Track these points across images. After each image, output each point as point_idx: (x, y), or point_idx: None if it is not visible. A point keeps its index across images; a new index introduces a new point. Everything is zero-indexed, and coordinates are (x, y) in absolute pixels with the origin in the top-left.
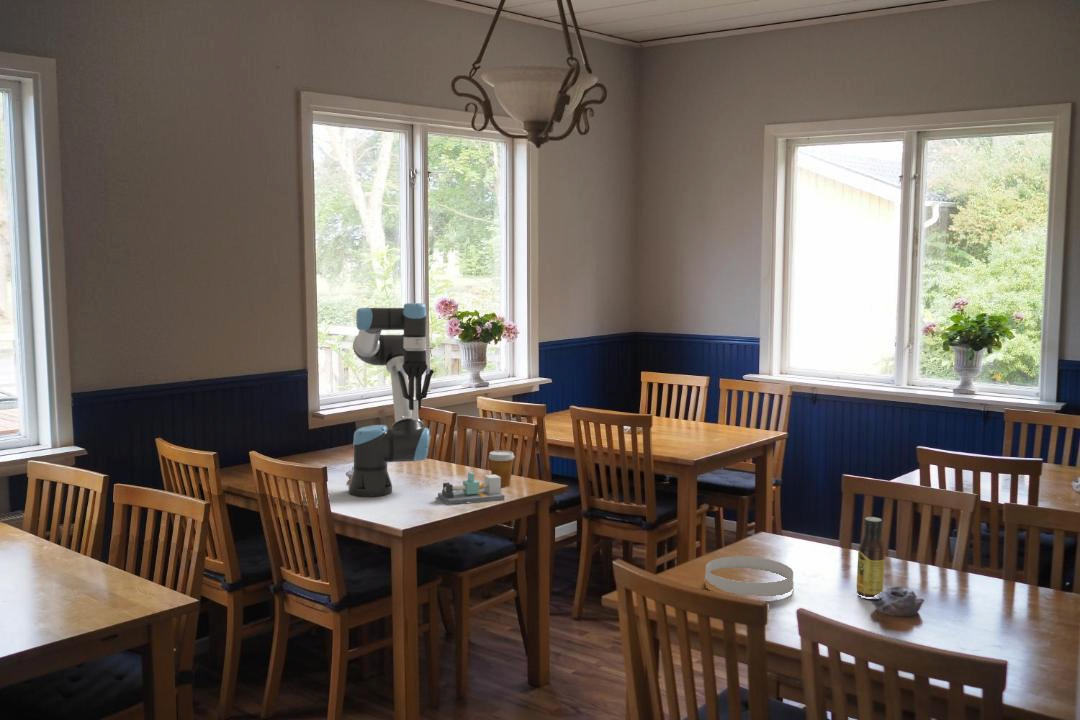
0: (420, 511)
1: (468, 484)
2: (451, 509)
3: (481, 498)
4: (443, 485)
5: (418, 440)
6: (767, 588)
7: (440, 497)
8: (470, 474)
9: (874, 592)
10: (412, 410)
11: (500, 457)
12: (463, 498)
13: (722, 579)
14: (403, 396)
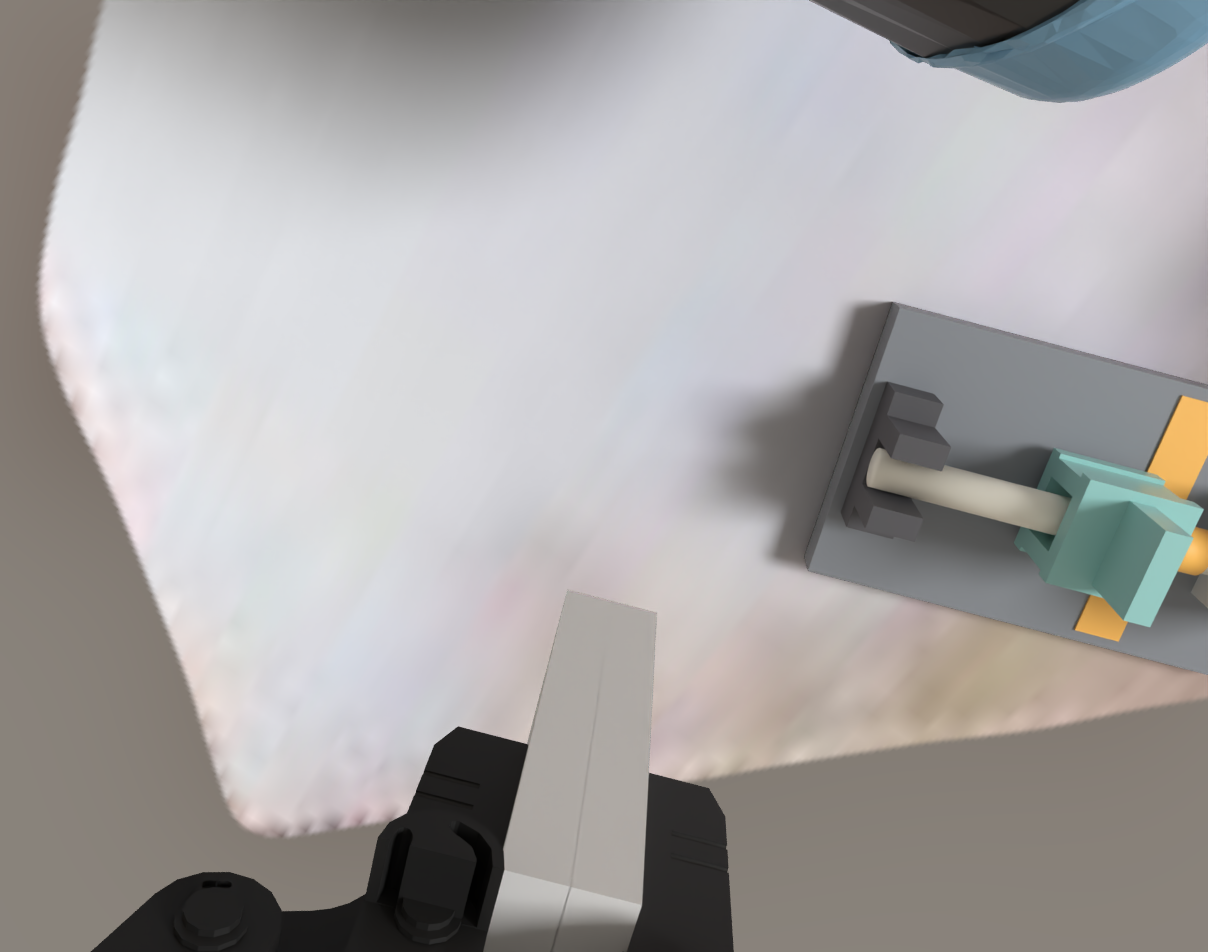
0: (535, 579)
1: (1051, 580)
2: (738, 658)
3: (1056, 631)
4: (891, 438)
5: (989, 34)
6: None
7: (873, 366)
8: (1131, 588)
9: None
10: (527, 748)
11: None
12: (933, 580)
13: None
14: (137, 935)
